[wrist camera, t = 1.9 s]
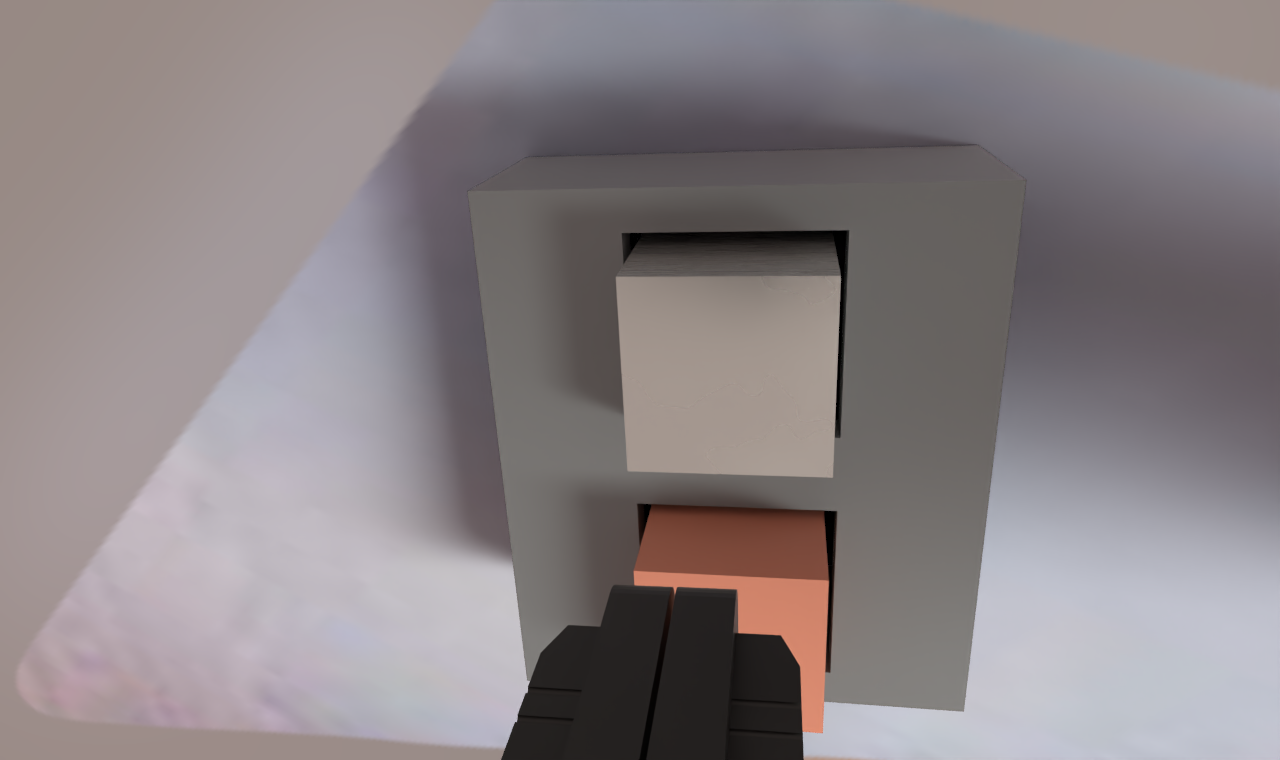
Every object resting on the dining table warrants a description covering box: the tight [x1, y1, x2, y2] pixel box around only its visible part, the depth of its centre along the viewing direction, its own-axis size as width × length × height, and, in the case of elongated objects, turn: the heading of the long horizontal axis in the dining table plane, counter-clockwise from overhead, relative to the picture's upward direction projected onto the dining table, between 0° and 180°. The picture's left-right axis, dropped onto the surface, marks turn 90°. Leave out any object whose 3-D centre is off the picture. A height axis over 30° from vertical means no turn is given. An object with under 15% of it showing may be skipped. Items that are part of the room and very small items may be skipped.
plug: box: [616, 230, 841, 478], centre depth 20 cm, size 4×4×4 cm
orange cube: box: [634, 504, 829, 733], centre depth 23 cm, size 4×4×4 cm
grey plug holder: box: [467, 145, 1026, 712], centre depth 24 cm, size 12×14×5 cm
